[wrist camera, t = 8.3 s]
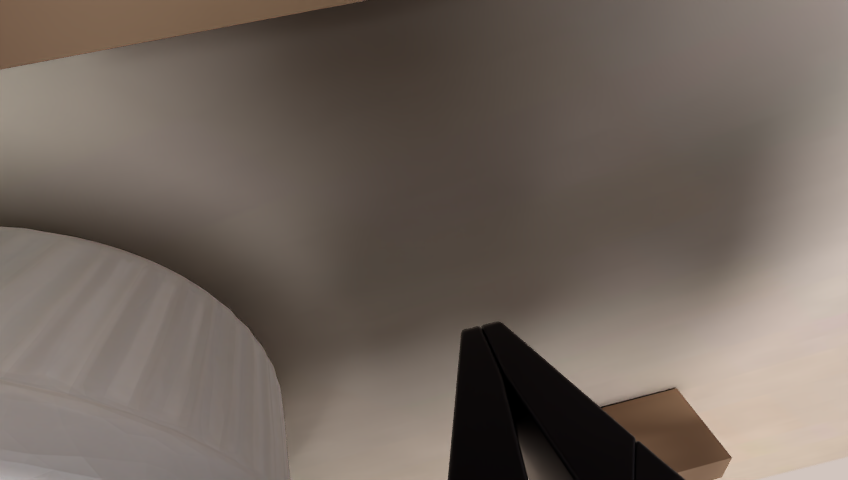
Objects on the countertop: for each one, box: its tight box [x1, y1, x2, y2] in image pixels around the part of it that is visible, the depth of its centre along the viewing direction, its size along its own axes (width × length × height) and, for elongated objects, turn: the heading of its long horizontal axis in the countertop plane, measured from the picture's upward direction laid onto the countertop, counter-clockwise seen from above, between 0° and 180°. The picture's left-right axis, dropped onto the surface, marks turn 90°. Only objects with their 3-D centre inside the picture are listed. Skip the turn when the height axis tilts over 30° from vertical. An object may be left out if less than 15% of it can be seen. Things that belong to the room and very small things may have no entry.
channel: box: [0, 0, 732, 480], centre depth 9 cm, size 12×16×3 cm
